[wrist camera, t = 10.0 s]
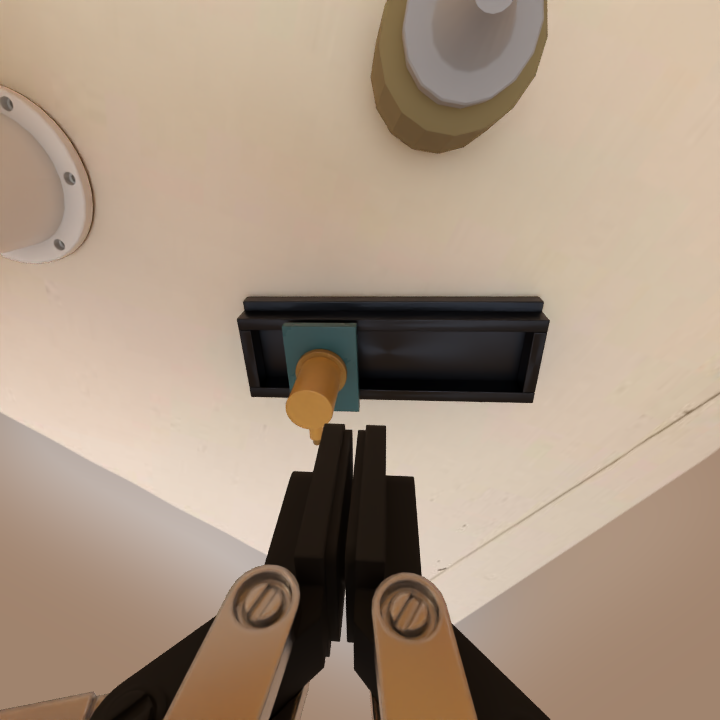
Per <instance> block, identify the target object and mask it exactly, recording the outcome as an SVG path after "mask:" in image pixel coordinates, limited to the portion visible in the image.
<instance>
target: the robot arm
mask: <svg viewBox="0 0 720 720" xmlns="http://www.w3.org/2000/svg"><path fill="white" fill-rule="evenodd" d="M92 213H93V202H92V192H91V188H90V184H89V180H88V177H87V173H86V171H85V169H84V166H83V164H82V162H81V159H80V157H79V155H78V153H77V152H76V150H75V149H74V147H73V145H72V144H71V142H70V140H69V139H68V137H67V136H66V135H65V134H64V132H63V131H62V130H61V129H60V128H59V126H58V125H57V124H56V123H55V122H54V121H53V120H52V119H51V118H50V117H49V116H48V115H47V114H46V113H45V112H44V111H43V110H42V109H41V108H40V107H38V106H37V105H35V104H34V103H33V102H31V101H30V100H28V99H27V98H26V97H24V96H23V95H21V94H19V93H17V92H15V91H13V90H11V89H9V88H7V87H4V86H1V85H0V256H3V257H5V258H7V259H11V260H14V261H18V262H22V263H31V264H40V263H49V262H52V261H55V260H58V259H62V258H64V257H66V256H68V255H69V254H71V253H73V252H74V251H75V250H76V249H77V248H78V247H79V246H81V245H82V243H83V241H84V240H85V238H86V236H87V235H88V232H89V229H90V226H91V222H92ZM345 588H346V621H347V642H352V643H354V670H355V671H356V673H357V674H358V675H359V677H360V678H361V679H362V680H363V682H364V683H365V685H366V686H367V687H368V689H369V690H370V700H371V712H372V720H550V719H549V717H547V716H546V715H545V714H544V713H543V712H542V711H541V710H540V709H539V708H538V707H537V706H536V705H535V704H534V703H533V702H532V701H531V700H530V699H529V698H528V697H527V696H526V695H525V694H524V693H523V692H522V691H521V690H520V689H519V688H518V687H517V686H515V684H514V683H513V682H511V681H510V680H509V679H508V678H507V677H506V676H505V675H504V674H503V673H502V672H501V671H500V670H499V669H498V668H497V667H496V666H495V665H494V664H493V663H492V662H491V661H490V660H489V659H488V658H487V657H486V656H485V655H484V654H483V653H482V652H481V651H479V650H478V649H477V647H475V646H474V645H473V644H472V643H471V642H470V641H469V640H468V639H467V638H466V637H465V636H464V635H463V634H462V633H461V632H460V631H459V630H458V629H457V628H456V627H455V626H454V625H453V624H452V623H451V620H450V616H449V613H448V609H447V605H446V603H445V600H444V598H443V596H442V594H441V592H440V591H439V590H438V588H437V587H436V586H435V585H434V584H433V583H432V582H430V581H429V580H428V579H426V578H425V577H423V576H422V575H421V562H420V548H419V535H418V522H417V509H416V496H415V483H414V477H409V476H387V475H386V426H380V425H366V430H358V437H357V446H356V455H355V465H354V474H353V438H352V430H345V424H327V423H325V424H324V427H323V431H322V436H321V440H320V445H319V449H318V453H317V458H316V462H315V466H314V471H313V472H299V471H293V473H292V474H291V477H290V480H289V484H288V487H287V490H286V494H285V497H284V500H283V504H282V507H281V511H280V514H279V517H278V521H277V524H276V528H275V531H274V534H273V538H272V541H271V545H270V548H269V551H268V555H267V558H266V562H265V565H263V566H258V567H255V568H253V569H251V570H249V571H247V572H245V573H244V574H243V575H242V576H241V577H240V578H238V579H237V580H236V581H235V583H234V584H233V586H232V587H231V589H230V590H229V592H228V594H227V596H226V598H225V600H224V602H223V604H222V606H221V608H220V609H219V611H218V613H217V615H216V616H215V617H214V618H212V619H211V620H209V621H208V622H207V623H205V624H204V625H203V626H201V627H200V628H198V629H197V630H195V631H194V632H193V633H191V634H190V635H188V636H187V637H186V638H184V639H183V640H181V641H180V642H179V643H177V644H176V645H175V646H173V647H172V648H170V649H169V650H167V651H166V652H165V653H163V654H162V655H160V656H159V657H158V658H156V659H155V660H153V661H152V662H151V663H149V664H148V665H146V666H145V667H144V668H142V669H141V670H139V671H138V672H137V673H135V674H134V675H132V676H131V677H130V678H128V679H127V680H125V681H124V682H123V683H121V684H120V685H119V686H117V687H116V688H115V689H114V690H113V691H112V692H111V693H109V694H104V695H99V696H96V695H95V693H94V692H89V693H84V694H79V695H74V696H68V697H63V698H59V699H53V700H48V701H43V702H38V703H33V704H28V705H23V706H18V707H13V708H8V709H3V710H0V720H300V718H301V714H302V711H303V707H304V703H305V700H306V696H307V692H308V688H309V682H310V680H311V679H312V678H313V677H314V676H315V675H316V674H318V672H320V671H321V670H322V669H323V668H324V664H325V657H329V656H330V648H331V641H338V642H339V641H340V637H341V627H342V616H343V606H344V596H345Z"/></svg>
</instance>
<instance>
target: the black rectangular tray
mask: <svg viewBox="0 0 720 720" xmlns="http://www.w3.org/2000/svg"><path fill="white" fill-rule="evenodd" d="M243 304H244V310H245V311H244V312H243V313H242V314H241V315H240V316H239V317H238V318H237V322H238V327H239V332H240V338H241V343H242V349H243V354H244V359H245V365H246V370H247V376H248V381H249V386H250V393H251V397H283V398H288V397H289V395H290V387H289V379H288V372H287V364H286V356H285V349H284V341H283V333H282V325H283V324H284V323H357V341H358V369H359V398H360V399H375V400H420V401H466V402H512V403H533V399H534V394H535V393H534V392H535V389H536V384H537V379H538V374H539V369H540V364H541V360H542V355H543V350H544V345H545V340H546V336H547V331H548V326H549V322H550V320H549V319H548V318H547V317H546V316H545V314H544V313H543V312H542V309H543V304H544V302H543V301H542V299H541V298H540V297H247V298H246V299H245V300H244V301H243Z"/></svg>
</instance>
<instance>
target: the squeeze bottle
mask: <svg viewBox="0 0 720 720" xmlns="http://www.w3.org/2000/svg"><path fill="white" fill-rule="evenodd" d="M547 37H548V31H547V0H387V2H386V4H385V7H384V11H383V15H382V19H381V24H380V28H379V32H378V36H377V40H376V45H375V52H374V59H373V66H372V73H371V81H372V87H373V92H374V98H375V103H376V109H377V110H378V112H379V114H380V115H381V117H382V119H383V120H384V122H385V124H386V125H387V127H388V129H389V131H390V132H391V134H393V135H394V136H396V137H397V138H398V139H400V140H401V141H402V142H404V143H405V144H407V145H408V146H409V147H411V148H412V149H416V150H421V151H427V152H432V153H437V154H438V153H442V152H446V151H450V150H454V149H458V148H462V147H464V146H466V145H467V144H469V143H470V142H471V141H473V140H474V139H475V138H477V137H478V136H480V135H481V134H482V133H484V132H485V131H486V130H488V129H489V128H490V127H491V126H492V125H494V124H495V123H496V122H497V121H498V120H499V119H501V118H502V117H503V116H504V115H505V114H506V113H508V112H509V111H510V110H511V109H512V108H513V107H514V106H515V104H516V103H517V102H518V100H519V99H520V97H521V96H522V94H523V93H524V91H525V90H526V89H527V87H528V86H529V84H530V83H531V81H532V80H533V78H534V77H535V75H536V72H537V69H538V66H539V62H540V59H541V56H542V53H543V49H544V46H545V43H546V40H547Z"/></svg>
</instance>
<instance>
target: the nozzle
mask: <svg viewBox="0 0 720 720" xmlns="http://www.w3.org/2000/svg"><path fill="white" fill-rule="evenodd" d="M282 333H283V341H284V349H285V356H286V364H287V372H288V379H289V387H290V395H289V397H288V400H287V402H286V412H287V415H288V417H289V418H290V420H291V421H292V422H293V423H295V424H296V425H298V426H300V427H302V428H305V429H309V431H310V438H311V439H312V440H313V443H314V444H315V445H320V440H321V436H322V431H323V426H324V424H325V423H327V424H328V423H329V421H330V420H331V418H332V415H333V411H353V412H359V408H360V398H359V369H358V341H357V323H284V324H283V325H282Z"/></svg>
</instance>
